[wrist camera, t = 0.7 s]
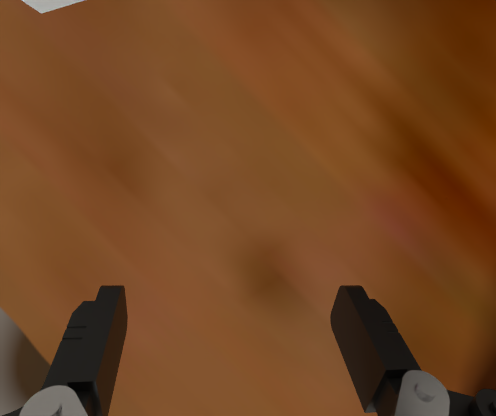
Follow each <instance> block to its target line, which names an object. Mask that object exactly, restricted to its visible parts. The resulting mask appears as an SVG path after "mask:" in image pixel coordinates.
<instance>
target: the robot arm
mask: <svg viewBox="0 0 496 416" xmlns="http://www.w3.org/2000/svg"><path fill="white" fill-rule="evenodd" d="M331 327H332V330H333V333H334V335H335V338H336V341H337V343H338V346H339V348H340V351H341V353H342V356H343V358H344V361H345V364H346V366H347V369H348V371H349V374H350V376H351V379H352V381H353V384H354V387H355V389H356V392H357V394H358V397H359V399H360V402H361V404H362V407H363V410H364V412H365V413H370V412H377V414H378V416H496V391H495V390H492V389H482V390H480V391H479V392H478V393H477V394H476V396H475V397H472V396H468V395H464V394H460V393H457V392H453V391H449V390H446V389H445V387H444V386H443V385H442V384H441V383H440V382H439V381H438V380H437V379H436V378H435V377H433V376H432V375H430V374H428V373H426V372H424V371H422V370H421V369H420V367H419V365H418V364H417V362H416V360H415V358H414V357H413V355H412V353H411V352H410V350H409V348H408V347H407V345H406V343H405V341H404V340H403V338H402V336H401V335H400V333H398V329H397V328H396V326H395V324H394V323H393V321H392V319H391V318H390V316H389V314H388V312H387V311H386V309H385V308H384V307H383V306H382V305H380V304H379V303H378V302H377V301H376V300H375V299H369V298H368V296H367V294H366V292H365V290H364V289H363V287H362V286H340V288H339V290H338V293H337V296H336V299H335V302H334V305H333V308H332V311H331ZM126 331H127V307H126V297H125V288H124V286H101V287H100V289H99V292H98V295H97V297H96V300H95V301H83V302H82V303H81V305H80V306H79V307H78V308H77V309H76V310H75V311H74V312H73V313H72V315H71V318H70V320H69V323H68V325H67V329H66V330H65V333H64V335H63V338H62V341H61V343H60V345H59V347H58V350H57V352H56V355H55V357H54V360H53V362H52V365H51V367H50V370H49V372H48V375H47V377H46V380H45V382H44V385H43V386H42V388H41V390H40V391H39V392H38V393H36V394H35V395H34V396H32V397H31V398H30V399H29V400H28V401H27V402H26V404H25V405H24V406H23V407H21V408H19V409H18V410H16V411H13V412H11V413H8V414H5V415H2V416H108V412H109V408H110V403H111V399H112V394H113V390H114V385H115V381H116V376H117V372H118V367H119V363H120V358H121V354H122V349H123V345H124V340H125V336H126Z"/></svg>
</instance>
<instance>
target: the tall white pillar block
mask: <svg viewBox="0 0 496 416" xmlns="http://www.w3.org/2000/svg"><path fill="white" fill-rule="evenodd" d="M22 1H23V2H25V3H26V4H28V5H29V6H31V7H32V8H34V9H35V10H37V11H38V12H40V13H45V12H48V11H51V10H54V9H58V8H61V7H64V6H68V5H71V4H74V3H78V2H81V1H84V0H22Z"/></svg>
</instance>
